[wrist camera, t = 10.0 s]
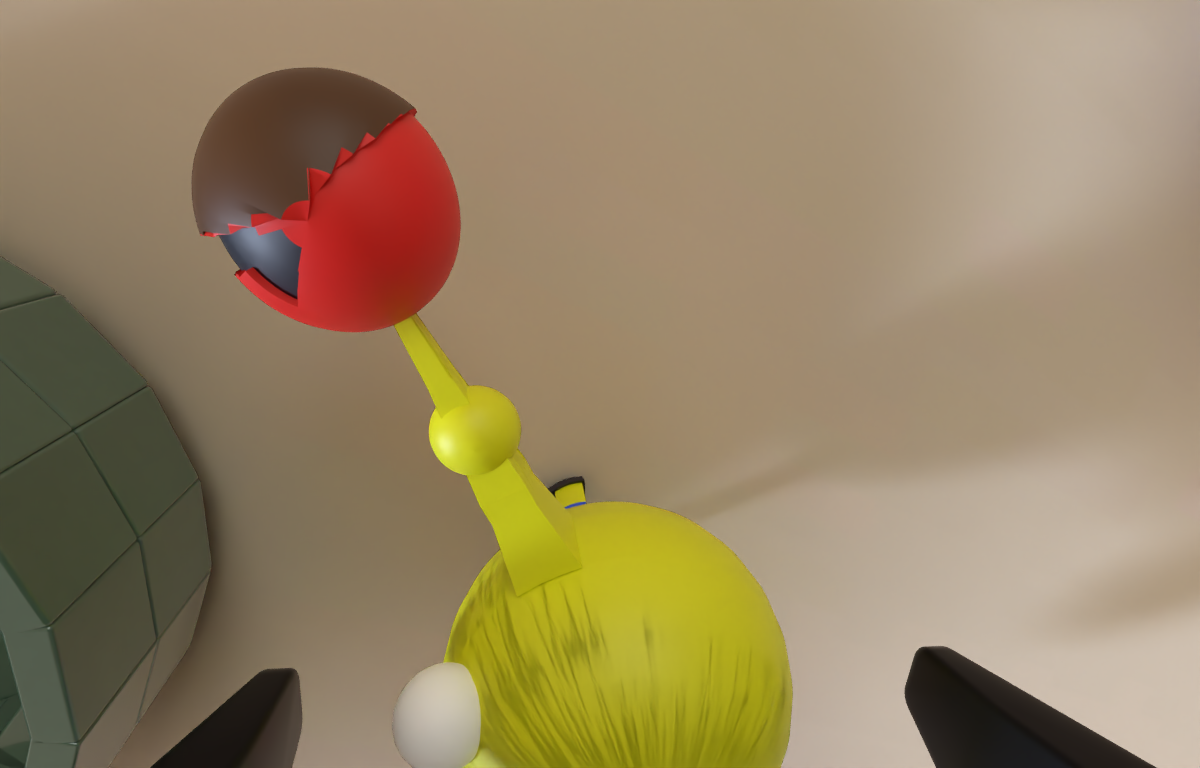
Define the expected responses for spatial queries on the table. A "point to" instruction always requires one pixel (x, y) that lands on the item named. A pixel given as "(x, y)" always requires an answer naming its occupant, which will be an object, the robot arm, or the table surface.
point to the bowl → (86, 537)
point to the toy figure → (494, 470)
